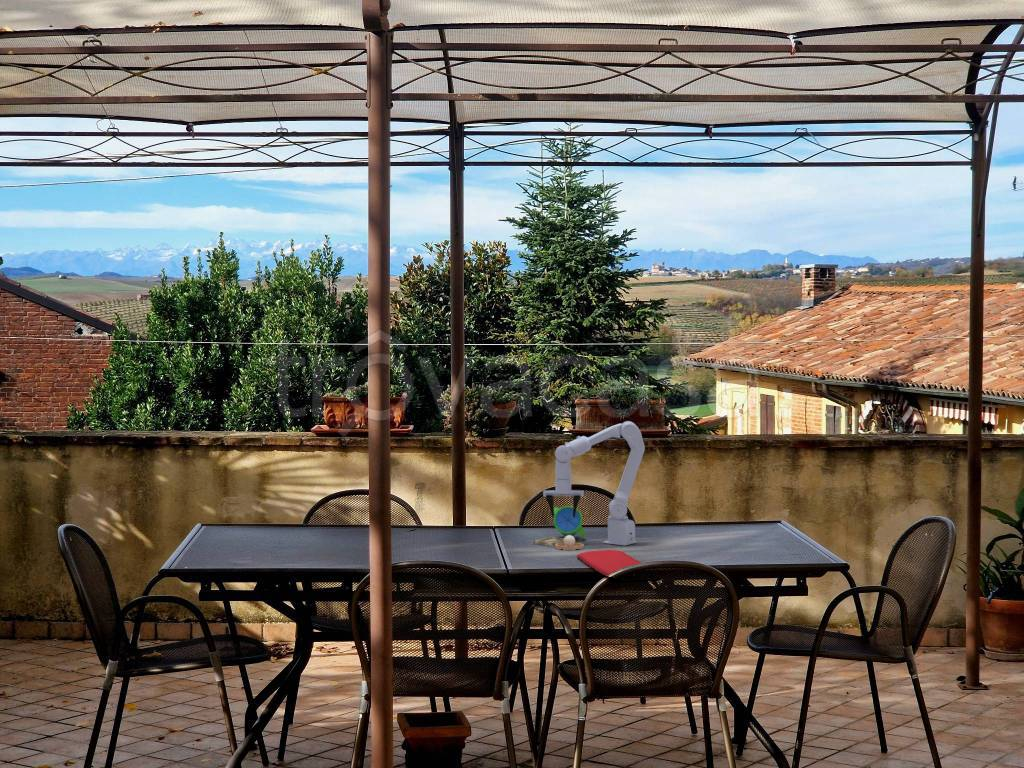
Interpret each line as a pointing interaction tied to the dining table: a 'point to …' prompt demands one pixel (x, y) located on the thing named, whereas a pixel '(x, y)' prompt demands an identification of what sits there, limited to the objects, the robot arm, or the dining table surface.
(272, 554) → the dining table surface
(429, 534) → the dining table surface
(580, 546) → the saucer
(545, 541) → the tray
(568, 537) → the ball
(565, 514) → the snack cup
